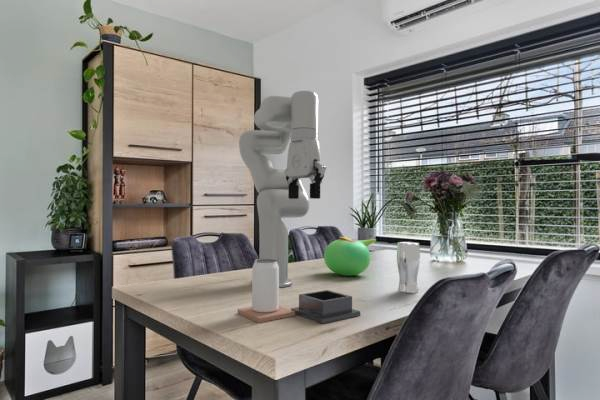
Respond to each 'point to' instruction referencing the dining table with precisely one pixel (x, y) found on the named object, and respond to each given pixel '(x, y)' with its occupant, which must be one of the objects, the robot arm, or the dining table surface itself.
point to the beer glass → (408, 266)
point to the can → (265, 286)
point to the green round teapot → (348, 256)
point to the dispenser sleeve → (325, 306)
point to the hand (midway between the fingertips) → (303, 198)
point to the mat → (265, 314)
